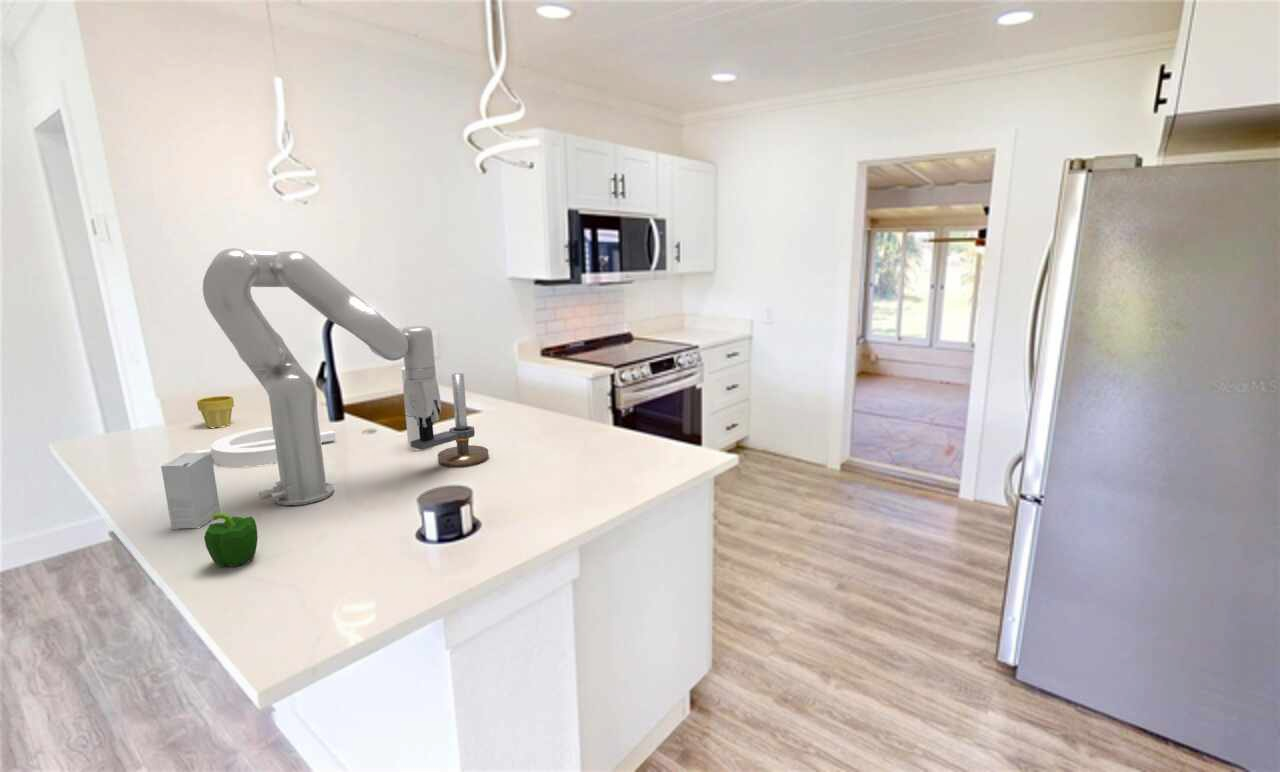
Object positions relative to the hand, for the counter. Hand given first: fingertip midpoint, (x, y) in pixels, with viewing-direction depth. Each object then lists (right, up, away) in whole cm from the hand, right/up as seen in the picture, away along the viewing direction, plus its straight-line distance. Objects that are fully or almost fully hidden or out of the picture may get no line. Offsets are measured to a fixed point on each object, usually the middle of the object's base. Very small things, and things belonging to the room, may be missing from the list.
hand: (427, 439), depth 162 cm
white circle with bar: (-55, -6, +20) cm, 58 cm away
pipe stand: (+7, -7, +11) cm, 15 cm away
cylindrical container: (-10, -5, +22) cm, 25 cm away
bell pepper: (-20, -19, -47) cm, 54 cm away
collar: (+3, -1, +5) cm, 6 cm away
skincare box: (-40, -16, -29) cm, 52 cm away
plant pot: (-90, 0, +48) cm, 102 cm away
